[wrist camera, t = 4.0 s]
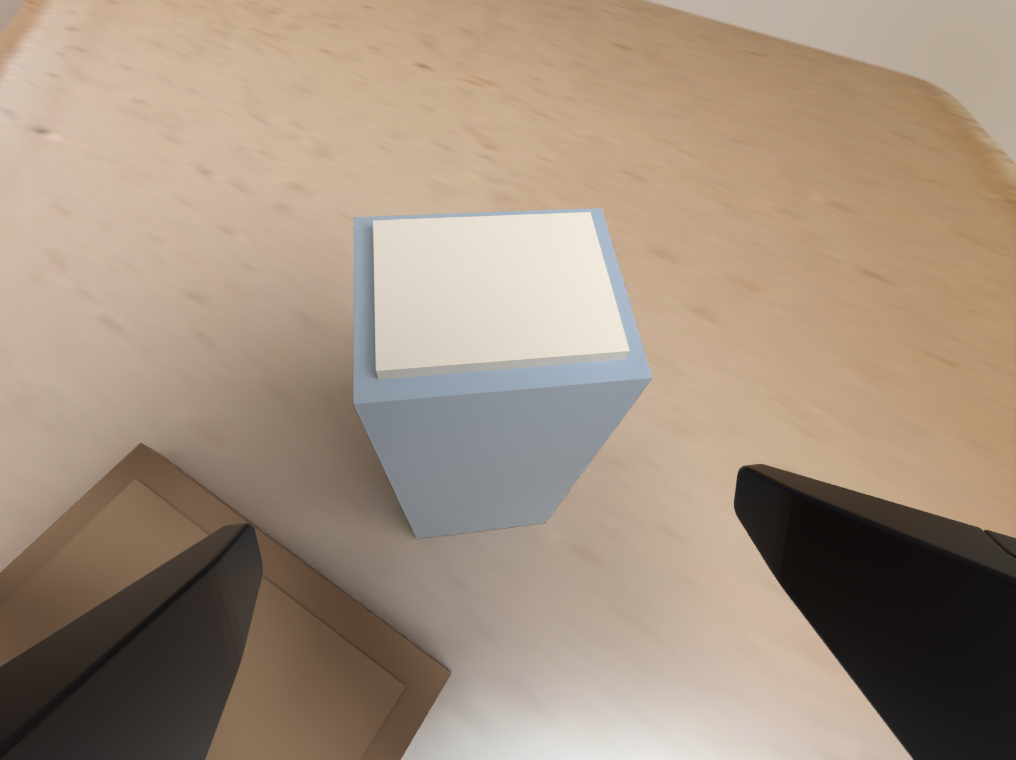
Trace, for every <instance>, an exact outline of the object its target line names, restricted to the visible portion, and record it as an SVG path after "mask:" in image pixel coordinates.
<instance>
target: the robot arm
mask: <svg viewBox="0 0 1016 760" xmlns="http://www.w3.org/2000/svg"><path fill="white" fill-rule="evenodd" d="M734 509H735V512H736V515H737V517H738V519H739V520H740V522H741V523H742V525H743V527H744V528H745V530H746V531H747V533H748V535H749V536H750V538H751V540H752V541H753V543H754V544H755V546H756V548H757V549H758V551H759V552H760V554H761V556H762V557H763V559H764V560H765V562H766V564H767V565H768V567H769V569H770V570H771V572H772V573H773V575H774V576H775V578H776V579H777V581H778V582H779V584H780V585H781V586H782V588H783V589H784V591H785V592H786V593H787V595H788V596H789V597H790V599H791V600H792V601H793V603H794V604H795V605H796V606H797V608H798V609H799V610H800V612H801V613H802V614H803V616H804V617H805V618H806V620H807V621H808V622H809V624H810V625H811V626H812V627H813V629H814V630H815V631H816V633H817V634H818V635H819V637H820V638H821V639H822V641H823V642H824V643H825V645H826V646H827V647H828V648H829V650H830V651H831V652H832V654H833V655H834V656H835V658H836V659H837V660H838V662H839V663H840V664H841V666H842V667H843V668H844V670H845V671H846V672H847V673H848V675H849V676H850V677H851V679H852V680H853V681H854V683H855V684H856V685H857V687H858V688H859V689H860V691H861V692H862V693H863V694H864V696H865V697H866V698H867V700H868V701H869V702H870V704H871V705H872V706H873V708H874V709H875V710H876V712H877V713H878V714H879V715H880V717H881V718H882V719H883V721H884V722H885V723H886V725H887V726H888V727H889V729H890V730H891V731H892V733H893V734H894V735H895V736H896V738H897V739H898V740H899V742H900V743H901V744H902V746H903V747H904V748H905V750H906V751H907V752H908V754H909V755H910V756H911V757H912V759H913V760H1016V538H1013V537H1010V536H1006V535H1003V534H999V533H996V532H993V531H989V530H984V531H983V530H982V529H981V528H979V527H975V526H972V525H968V524H965V523H962V522H958V521H955V520H951V519H948V518H945V517H941V516H938V515H934V514H931V513H928V512H924V511H921V510H917V509H914V508H911V507H907V506H904V505H900V504H897V503H894V502H890V501H887V500H883V499H880V498H876V497H873V496H870V495H866V494H863V493H859V492H856V491H853V490H849V489H846V488H842V487H839V486H836V485H832V484H829V483H825V482H822V481H819V480H815V479H812V478H808V477H805V476H802V475H798V474H795V473H791V472H788V471H785V470H781V469H778V468H774V467H771V466H767V465H764V464H755V465H746V466H742V467H741V468H740V469H739V471H738V475H737V482H736V490H735V498H734ZM262 576H263V562H262V557H261V553H260V548H259V544H258V540H257V536H256V531H255V528H254V527H253V525H252V524H251V523H237V524H228V525H225V526H223V527H221V528H220V529H218V530H216V531H215V532H213V533H212V534H210V535H208V536H207V537H205V538H204V539H202V540H200V541H199V542H197V543H196V544H194V545H192V546H191V547H189V548H188V549H186V550H185V551H183V552H181V553H180V554H178V555H177V556H175V557H173V558H172V559H170V560H169V561H167V562H165V563H164V564H162V565H161V566H159V567H157V568H156V569H154V570H153V571H151V572H149V573H148V574H146V575H145V576H143V577H142V578H140V579H138V580H137V581H135V582H134V583H132V584H130V585H129V586H127V587H126V588H124V589H122V590H121V591H119V592H118V593H116V594H114V595H113V596H111V597H110V598H108V599H106V600H105V601H103V602H102V603H100V604H99V605H97V606H95V607H94V608H92V609H91V610H89V611H87V612H86V613H84V614H83V615H81V616H79V617H78V618H76V619H75V620H73V621H71V622H70V623H68V624H67V625H65V626H63V627H62V628H60V629H59V630H57V631H56V632H54V633H52V634H51V635H49V636H48V637H46V638H44V639H43V640H41V641H40V642H38V643H36V644H35V645H33V646H32V647H30V648H28V649H27V650H25V651H24V652H22V653H20V654H19V655H17V656H16V657H14V658H13V659H11V660H9V661H8V662H6V663H5V664H3V665H1V666H0V760H206V757H207V754H208V751H209V749H210V746H211V743H212V740H213V738H214V735H215V732H216V730H217V727H218V724H219V721H220V719H221V716H222V713H223V711H224V708H225V705H226V702H227V700H228V697H229V694H230V692H231V689H232V686H233V683H234V681H235V678H236V675H237V672H238V669H239V666H240V663H241V660H242V656H243V653H244V649H245V645H246V641H247V637H248V633H249V629H250V625H251V621H252V617H253V613H254V609H255V605H256V601H257V597H258V592H259V588H260V584H261V580H262Z"/></svg>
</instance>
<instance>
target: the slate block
mask: <svg viewBox="0 0 1016 760" xmlns="http://www.w3.org/2000/svg"><path fill="white" fill-rule="evenodd" d="M651 379H652V375H651V371H650V368H649V365H648V361H647V358H646V355H645V351H644V348H643V345H642V341H641V338H640V335H639V331H638V328H637V325H636V321H635V318H634V315H633V311H632V308H631V305H630V301H629V298H628V295H627V291H626V288H625V285H624V281H623V278H622V275H621V271H620V268H619V265H618V261H617V258H616V255H615V251H614V248H613V245H612V241H611V238H610V234H609V231H608V228H607V224H606V221H605V218H604V214H603V211H602V208H590V209H563V210H537V211H510V212H483V213H457V214H430V215H404V216H377V217H354V372H353V404H354V406H355V409H356V411H357V413H358V415H359V417H360V419H361V421H362V424H363V426H364V428H365V430H366V432H367V434H368V436H369V439H370V441H371V443H372V445H373V447H374V449H375V451H376V454H377V456H378V458H379V460H380V462H381V464H382V466H383V468H384V471H385V473H386V475H387V477H388V479H389V481H390V483H391V486H392V488H393V490H394V492H395V494H396V496H397V498H398V501H399V503H400V505H401V507H402V509H403V511H404V513H405V516H406V518H407V520H408V522H409V524H410V526H411V528H412V531H413V533H414V535H415V537H416V539H422V538H430V537H438V536H446V535H454V534H462V533H470V532H478V531H486V530H494V529H502V528H510V527H518V526H526V525H534V524H542V523H546V521H547V520H548V519H549V517H550V516H551V515H552V513H553V512H554V511H555V509H556V508H557V506H558V505H559V504H560V502H561V501H562V500H563V498H564V497H565V496H566V494H567V493H568V492H569V490H570V489H571V488H572V486H573V485H574V483H575V482H576V481H577V479H578V478H579V477H580V475H581V474H582V473H583V471H584V470H585V469H586V467H587V466H588V465H589V463H590V462H591V461H592V459H593V458H594V456H595V455H596V454H597V452H598V451H599V450H600V448H601V447H602V446H603V444H604V443H605V442H606V440H607V439H608V438H609V436H610V435H611V433H612V432H613V431H614V429H615V428H616V427H617V425H618V424H619V423H620V421H621V420H622V419H623V417H624V416H625V415H626V413H627V412H628V411H629V409H630V408H631V406H632V405H633V404H634V402H635V401H636V400H637V398H638V397H639V396H640V394H641V393H642V392H643V390H644V389H645V388H646V386H647V385H648V383H649V382H650V381H651Z"/></svg>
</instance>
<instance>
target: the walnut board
mask: <svg viewBox="0 0 1016 760" xmlns="http://www.w3.org/2000/svg"><path fill="white" fill-rule="evenodd" d="M237 523H251V522H250V521H248V520H247V519H246V518H244V517H243V516H242V515H240V514H239V513H238V512H236V511H235V510H234V509H232V508H231V507H230V506H228V505H227V504H226V503H224V502H223V501H222V500H220V499H219V498H218V497H216V496H215V495H214V494H212V493H211V492H210V491H208V490H207V489H206V488H204V487H203V486H201V485H200V484H199V483H197V482H196V481H195V480H193V479H192V478H191V477H189V476H188V475H187V474H185V473H184V472H183V471H181V470H180V469H179V468H177V467H176V466H175V465H173V464H172V463H171V462H169V461H168V460H167V459H165V458H164V457H163V456H161V455H160V454H159V453H157V452H155V451H154V450H152V449H150V448H149V447H147V446H145V445H144V444H142V443H140V444H139V445H138V446H137V447H136V448H135V449H134V450H133V451H132V452H130V453H129V454H128V455H127V456H126V457H125V458H124V459H123V460H122V461H121V462H120V463H119V464H118V465H116V466H115V467H114V468H113V469H112V470H111V471H110V472H109V473H108V474H107V475H106V476H105V477H104V478H102V479H101V480H100V481H99V482H98V483H97V484H96V485H95V486H94V487H93V488H92V489H91V490H90V491H88V492H87V493H86V494H85V495H84V496H83V497H82V498H81V499H80V500H79V501H78V502H77V503H75V504H74V505H73V506H72V507H71V508H70V509H69V510H68V511H67V512H66V513H65V514H64V515H63V516H61V517H60V518H59V519H58V520H57V521H56V522H55V523H54V524H53V525H52V526H51V527H50V528H49V529H47V530H46V531H45V532H44V533H43V534H42V535H41V536H40V537H39V538H38V539H37V540H36V541H35V542H33V543H32V544H31V545H30V546H29V547H28V548H27V549H26V550H25V551H24V552H23V553H22V554H20V555H19V556H18V557H17V558H16V559H15V560H14V561H13V562H12V563H11V564H10V565H9V566H8V567H6V568H5V569H4V570H3V571H2V572H1V573H0V666H1V665H3V664H5V663H6V662H8V661H9V660H11V659H13V658H14V657H16V656H17V655H19V654H20V653H22V652H24V651H25V650H27V649H28V648H30V647H32V646H33V645H35V644H36V643H38V642H40V641H41V640H43V639H44V638H46V637H48V636H49V635H51V634H52V633H54V632H56V631H57V630H59V629H60V628H62V627H63V626H65V625H67V624H68V623H70V622H71V621H73V620H75V619H76V618H78V617H79V616H81V615H83V614H84V613H86V612H87V611H89V610H91V609H92V608H94V607H95V606H97V605H99V604H100V603H102V602H103V601H105V600H106V599H108V598H110V597H111V596H113V595H114V594H116V593H118V592H119V591H121V590H122V589H124V588H126V587H127V586H129V585H130V584H132V583H134V582H135V581H137V580H138V579H140V578H142V577H143V576H145V575H146V574H148V573H149V572H151V571H153V570H154V569H156V568H157V567H159V566H161V565H162V564H164V563H165V562H167V561H169V560H170V559H172V558H173V557H175V556H177V555H178V554H180V553H181V552H183V551H185V550H186V549H188V548H189V547H191V546H192V545H194V544H196V543H197V542H199V541H200V540H202V539H204V538H205V537H207V536H208V535H210V534H212V533H213V532H215V531H216V530H218V529H220V528H221V527H223V526H225V525H228V524H237ZM251 524H252V523H251ZM252 525H253V527H254V528H255V531H256V536H257V540H258V544H259V548H260V553H261V557H262V562H263V576H262V580H261V584H260V588H259V592H258V597H257V601H256V605H255V609H254V613H253V617H252V621H251V625H250V629H249V633H248V637H247V641H246V645H245V649H244V653H243V656H242V660H241V663H240V666H239V669H238V672H237V675H236V678H235V681H234V683H233V686H232V689H231V692H230V694H229V697H228V700H227V702H226V705H225V708H224V711H223V713H222V716H221V719H220V721H219V724H218V727H217V730H216V732H215V735H214V738H213V740H212V743H211V746H210V749H209V751H208V754H207V757H206V760H401V758H402V756H403V754H404V753H405V751H406V749H407V748H408V746H409V744H410V743H411V741H412V739H413V737H414V736H415V734H416V732H417V731H418V729H419V727H420V726H421V724H422V722H423V720H424V719H425V717H426V715H427V714H428V712H429V710H430V709H431V707H432V705H433V703H434V702H435V700H436V698H437V697H438V695H439V693H440V692H441V690H442V688H443V687H444V685H445V683H446V681H447V680H448V678H449V676H450V675H451V671H450V670H448V669H447V668H446V667H444V666H443V665H442V664H440V663H439V662H438V661H436V660H435V659H434V658H432V657H431V656H430V655H428V654H427V653H426V652H424V651H423V650H422V649H420V648H419V647H418V646H416V645H415V644H413V643H412V642H411V641H409V640H408V639H407V638H405V637H404V636H403V635H401V634H400V633H399V632H397V631H396V630H395V629H393V628H392V627H391V626H389V625H388V624H387V623H385V622H384V621H383V620H381V619H380V618H379V617H377V616H376V615H375V614H373V613H372V612H371V611H369V610H368V609H367V608H365V607H364V606H362V605H361V604H360V603H358V602H357V601H356V600H354V599H353V598H352V597H350V596H349V595H348V594H346V593H345V592H344V591H342V590H341V589H340V588H338V587H337V586H336V585H334V584H333V583H332V582H330V581H329V580H328V579H326V578H325V577H324V576H322V575H321V574H320V573H318V572H317V571H316V570H314V569H313V568H312V567H310V566H309V565H307V564H306V563H305V562H303V561H302V560H301V559H299V558H298V557H297V556H295V555H294V554H293V553H291V552H290V551H289V550H287V549H286V548H285V547H283V546H282V545H281V544H279V543H278V542H277V541H275V540H274V539H273V538H271V537H270V536H269V535H267V534H266V533H265V532H263V531H262V530H261V529H259V528H258V527H257V526H255V525H254V524H252Z"/></svg>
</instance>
